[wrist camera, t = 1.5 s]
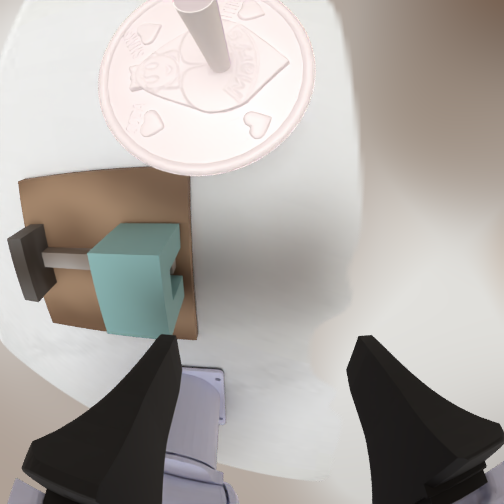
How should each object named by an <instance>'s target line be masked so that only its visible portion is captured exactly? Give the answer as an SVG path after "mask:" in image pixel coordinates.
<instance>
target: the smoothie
mask: <svg viewBox="0 0 504 504" xmlns="http://www.w3.org/2000/svg"><path fill="white" fill-rule="evenodd" d="M315 75H316V68H315V57H314V52H313V48H312V44H311V42H310V39H309V37H308V34H307V33H306V31H305V29H304V27H303V25H302V24H301V22H300V21H299V19H298V18H297V17H296V16H295V15H294V14H293V12H292V11H291V10H290V9H289V8H288V7H286V6H285V5H284V4H283V3H282V2H280V1H279V0H147V1H146V2H145V3H143V4H142V5H140V6H139V7H138V8H137V9H136V10H134V11H133V12H132V13H131V14H130V15H129V16H128V17H127V18H126V19H125V20H124V21H123V23H122V24H121V25H120V26H119V28H118V29H117V30H116V32H115V33H114V35H113V37H112V38H111V40H110V42H109V44H108V46H107V48H106V50H105V53H104V56H103V59H102V62H101V66H100V71H99V78H98V94H99V102H100V107H101V110H102V114H103V117H104V119H105V121H106V124H107V126H108V127H109V129H110V131H111V133H112V134H113V135H114V137H115V138H116V140H117V141H118V142H119V143H120V144H121V145H122V146H123V147H124V148H125V149H126V150H127V151H128V152H129V153H130V154H131V155H133V156H134V157H136V158H137V159H138V160H140V161H142V162H144V163H145V164H147V165H149V166H152V167H154V168H156V169H159V170H162V171H165V172H169V173H173V174H178V175H185V176H209V175H217V174H222V173H226V172H230V171H234V170H237V169H240V168H242V167H245V166H247V165H250V164H252V163H254V162H256V161H257V160H259V159H261V158H263V157H264V156H266V155H267V154H269V153H270V152H272V151H273V150H274V149H276V148H277V147H278V146H279V145H280V144H281V143H282V142H283V141H285V140H286V139H287V138H288V136H289V135H290V134H291V133H292V132H293V131H294V129H295V128H296V127H297V125H298V124H299V122H300V121H301V119H302V117H303V116H304V114H305V112H306V110H307V108H308V105H309V103H310V100H311V97H312V94H313V89H314V85H315Z"/></svg>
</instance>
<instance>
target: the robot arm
mask: <svg viewBox="0 0 504 504" xmlns="http://www.w3.org/2000/svg"><path fill="white" fill-rule="evenodd" d="M346 370H347V376H348V382H349V387H350V391H351V394H352V397H353V400H354V404H355V406H356V410H357V412H358V416H359V419H360V422H361V425H362V428H363V431H364V435H365V439H366V443H367V449H368V455H369V462H370V470H371V480H372V504H504V461H503V462H501V463H500V464H499V465H497V466H496V467H494V468H493V469H491V470H490V471H488V472H487V473H484V471H483V469H484V468H486V463H485V460H486V459H487V458H489V457H490V456H491V455H492V454H493V453H495V452H496V451H497V450H498V449H499V448H500V447H501V446H502V445H503V444H504V431H503V429H502V427H501V426H500V424H499V423H496V422H492V421H490V420H487V419H484V418H481V417H479V416H477V415H474V414H472V413H470V412H468V411H466V410H464V409H462V408H460V407H458V406H456V405H454V404H452V403H451V402H449V401H448V400H446V399H445V398H443V397H441V396H440V395H439V394H437V393H436V392H434V391H433V390H431V389H430V388H429V387H428V386H426V385H425V384H424V383H422V382H421V381H420V380H419V379H418V378H417V377H415V376H414V375H413V374H412V373H411V372H410V371H409V370H408V369H406V368H405V367H404V366H403V365H402V364H401V363H400V362H399V361H398V360H397V359H396V358H395V357H394V356H393V355H392V354H391V353H390V352H389V351H387V349H386V348H385V347H384V346H383V345H382V344H380V342H378V341H377V340H376V339H375V338H374V337H373V336H372V335H368V336H358V340H357V342H356V345H355V348H354V350H353V353H352V356H351V359H350V361H349V364H348V367H347V369H346ZM224 424H226V414H225V393H224V373H223V371H221V370H218V369H199V368H185V367H182V366H181V360H180V355H179V349H178V343H177V337H176V335H167V334H161V335H159V336H158V338H157V339H156V340H155V342H154V343H153V344H152V346H151V347H150V348H149V349H148V351H147V352H146V353H145V354H144V356H143V357H142V358H141V359H140V360H139V362H138V363H137V364H136V365H135V366H134V367H133V369H132V370H131V371H130V372H129V373H128V374H127V375H126V376H125V377H124V378H123V379H122V380H121V381H120V383H119V384H118V385H117V386H116V387H115V388H114V389H113V390H111V391H110V392H109V393H108V394H107V395H106V396H105V397H104V398H103V399H101V400H100V401H99V402H98V403H97V404H95V405H94V406H93V407H92V408H90V409H89V410H88V411H86V412H85V413H84V414H82V415H81V416H79V417H78V418H77V419H75V420H73V421H72V422H70V423H68V424H67V425H65V426H64V427H62V428H60V429H58V430H56V431H55V432H53V433H50V434H48V435H46V436H44V437H42V438H39V439H37V440H34V441H33V442H32V443H31V445H30V448H29V450H28V453H27V455H26V458H25V460H24V463H23V466H22V470H23V472H25V473H26V474H27V475H28V476H29V477H31V478H32V479H33V480H35V481H36V482H38V483H39V484H41V485H42V486H44V487H45V488H46V489H47V490H46V494H44V493H43V492H41V491H39V490H37V489H35V488H34V487H32V486H30V485H28V484H27V483H25V482H23V481H21V480H20V479H18V478H16V479H15V482H14V484H13V487H12V490H11V493H10V497H9V500H8V503H7V504H239V499H238V496H237V494H236V492H235V491H234V489H233V487H232V486H231V485H230V484H229V483H227V482H223V472H220V471H217V470H216V464H217V445H218V427H219V425H224Z"/></svg>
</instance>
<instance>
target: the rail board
mask: <svg viewBox="0 0 504 504" xmlns="http://www.w3.org/2000/svg"><path fill="white" fill-rule="evenodd" d="M18 184H19V192H20V200H21V206H22V212H23V218H24V224H25V228H23V229H22V230H20V231H19V232H17V233H16V234H14V235H12V236H11V237H9V238H8V239H7V241H8V245H9V249H10V253H11V257H12V260H13V264H14V267H15V271H16V274H17V277H18V280H19V283H20V286H21V289H22V292H23V295H24V298H25V300H30V301H35V302H39V301H40V300H41V299H42V298H43V297H44V299H45V302H46V305H47V308H48V311H49V313H50V316H51V319H52V321H53V323H58V324H63V325H69V326H75V327H81V328H87V329H93V330H100V331H107V330H106V327H105V323H104V320H103V317H102V313H101V310H100V306H99V302H98V299H97V295H96V291H95V287H94V283H93V278H92V274H91V270H90V265H89V260H88V255H87V253H88V252H89V251H90V250H91V249H92V248H93V247H94V246H95V245H96V244H98V243H99V242H100V241H101V240H102V239H103V238H104V237H105V236H106V235H108V234H109V233H110V232H111V231H112V230H113V229H114V228H115V227H117V226H118V225H119V224H120V223H172V224H179V228H180V246H181V248H180V250H179V252H178V254H177V256H176V258H175V260H174V262H173V264H172V266H171V268H170V275H179V276H183V286H184V299H183V302H182V305H181V308H180V312H179V315H178V318H177V321H176V325H175V328H174V331H173V335H176V337H177V339H187V340H197V336H198V330H197V318H196V306H195V293H194V278H193V261H192V240H191V211H190V176H185V175H178V174H173V173H169V172H165V171H162V170H159V169H156V168H154V167H152V166H150V167H131V168H116V169H103V170H92V171H82V172H73V173H65V174H57V175H49V176H42V177H35V178H29V179H24V180H21V181H18Z"/></svg>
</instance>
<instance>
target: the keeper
mask: <svg viewBox="0 0 504 504" xmlns="http://www.w3.org/2000/svg"><path fill="white" fill-rule="evenodd" d="M180 248H181V246H180V228H179V224H172V223H120V224H119V225H118V226H117V227H115V228H114V229H113V230H112V231H111V232H110V233H109V234H108V235H106V236H105V237H104V238H103V239H102V240H101V241H100V242H99V243H98V244H96V245H95V246H94V247H93V248H92V249H91V250H90V251H89V252H88V253H87V255H88V260H89V265H90V270H91V274H92V278H93V283H94V287H95V291H96V295H97V299H98V302H99V306H100V310H101V313H102V317H103V320H104V323H105V327H106V330H107V333H108V334H116V335H123V336H132V337H141V338H150V339H157V338H158V336H159V335H161V334H167V335H173V331H174V328H175V325H176V321H177V318H178V315H179V312H180V308H181V305H182V302H183V299H184V286H183V276H179V275H170V268H171V266H172V264H173V262H174V260H175V258H176V256H177V254H178V252H179V250H180Z"/></svg>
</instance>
